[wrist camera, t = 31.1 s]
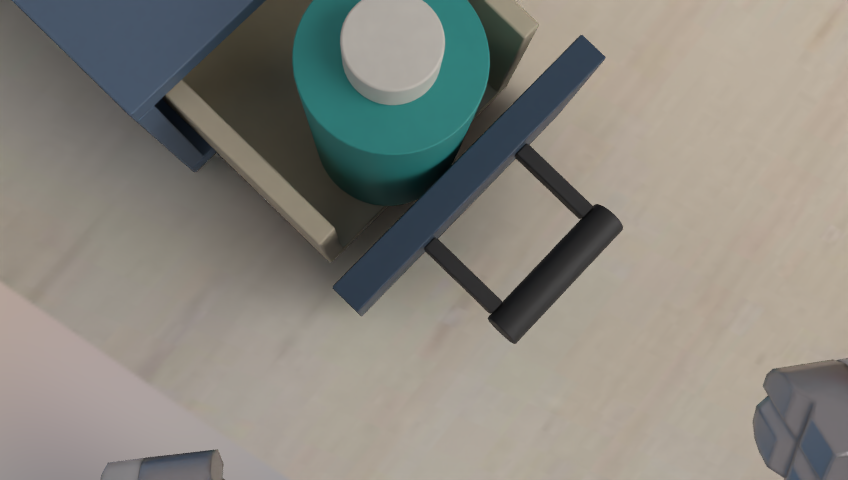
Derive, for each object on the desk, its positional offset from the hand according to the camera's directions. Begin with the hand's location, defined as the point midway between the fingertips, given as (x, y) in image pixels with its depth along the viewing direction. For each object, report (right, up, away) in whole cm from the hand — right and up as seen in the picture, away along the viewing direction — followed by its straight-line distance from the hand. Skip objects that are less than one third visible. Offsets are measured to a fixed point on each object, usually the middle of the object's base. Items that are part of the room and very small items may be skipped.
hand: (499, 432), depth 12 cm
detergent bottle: (-3, +7, +23) cm, 24 cm away
